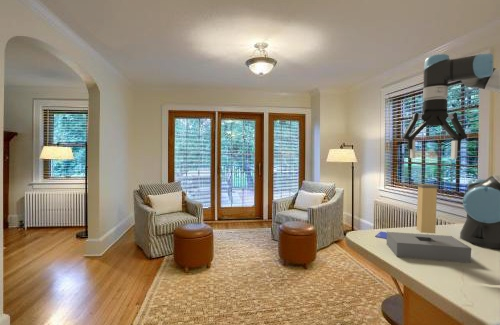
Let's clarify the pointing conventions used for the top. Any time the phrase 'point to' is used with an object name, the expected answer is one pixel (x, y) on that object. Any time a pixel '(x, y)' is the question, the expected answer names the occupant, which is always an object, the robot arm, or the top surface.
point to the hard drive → (382, 235)
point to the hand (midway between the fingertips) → (432, 158)
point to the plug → (426, 208)
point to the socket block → (428, 247)
